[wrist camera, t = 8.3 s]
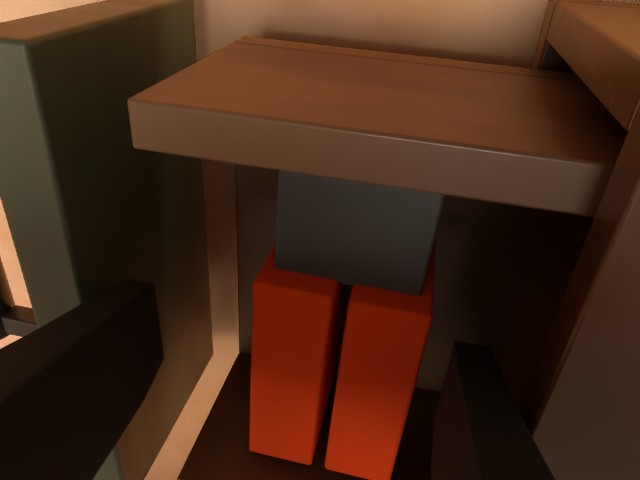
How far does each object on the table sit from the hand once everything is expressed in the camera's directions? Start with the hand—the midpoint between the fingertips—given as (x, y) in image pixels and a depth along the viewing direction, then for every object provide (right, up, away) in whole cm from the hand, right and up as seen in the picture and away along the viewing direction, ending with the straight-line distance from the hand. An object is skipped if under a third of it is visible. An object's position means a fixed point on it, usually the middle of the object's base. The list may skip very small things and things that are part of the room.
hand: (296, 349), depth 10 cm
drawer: (0, +3, +4) cm, 5 cm away
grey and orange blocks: (+1, +2, +3) cm, 4 cm away
